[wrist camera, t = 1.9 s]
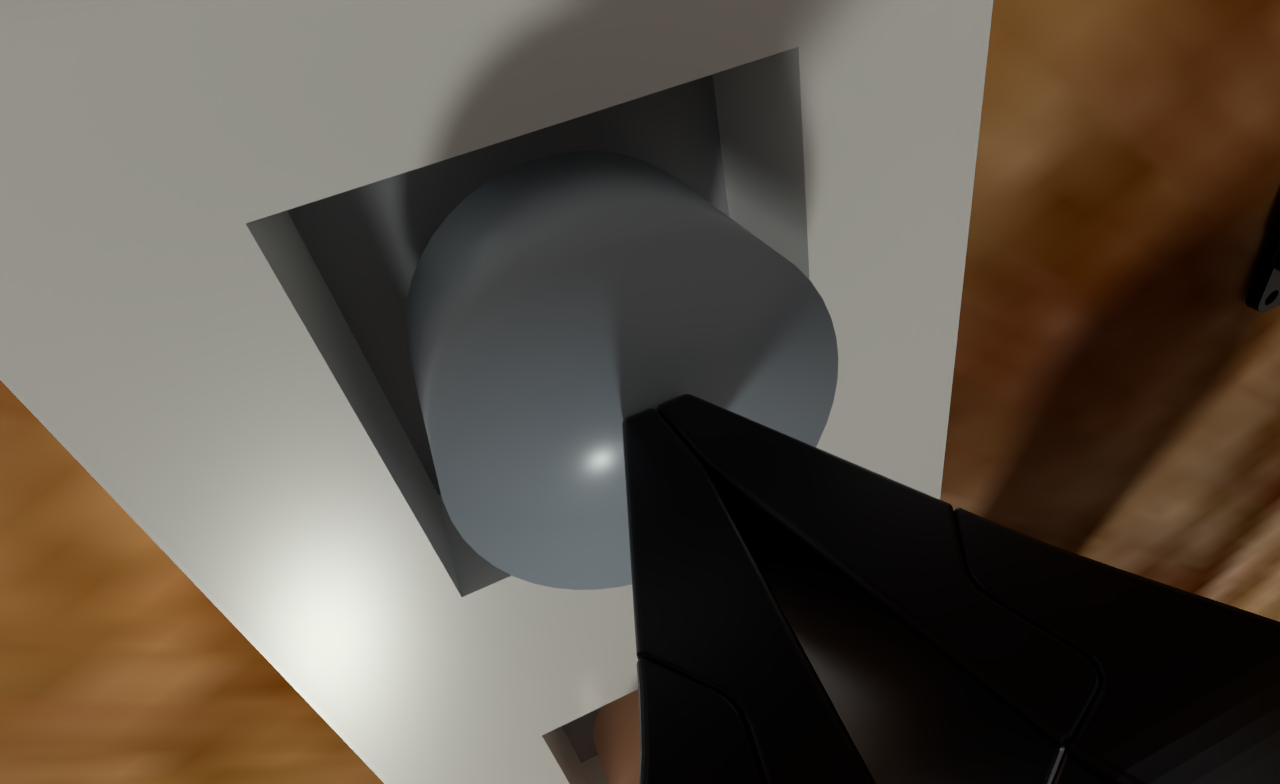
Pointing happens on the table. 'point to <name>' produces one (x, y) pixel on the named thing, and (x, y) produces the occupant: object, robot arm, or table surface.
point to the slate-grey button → (594, 350)
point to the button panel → (380, 281)
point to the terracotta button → (619, 739)
